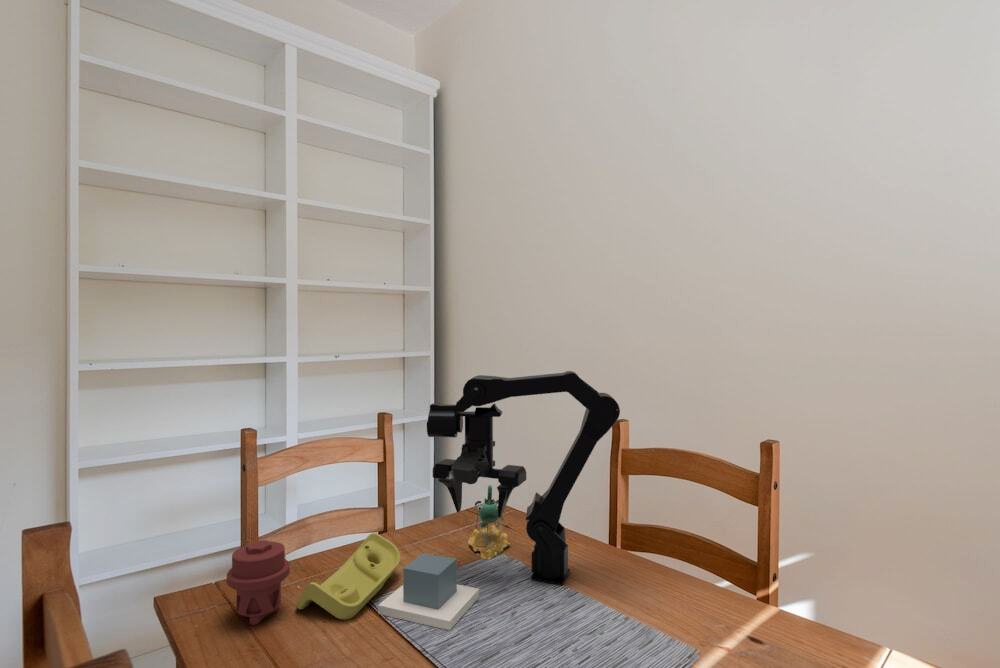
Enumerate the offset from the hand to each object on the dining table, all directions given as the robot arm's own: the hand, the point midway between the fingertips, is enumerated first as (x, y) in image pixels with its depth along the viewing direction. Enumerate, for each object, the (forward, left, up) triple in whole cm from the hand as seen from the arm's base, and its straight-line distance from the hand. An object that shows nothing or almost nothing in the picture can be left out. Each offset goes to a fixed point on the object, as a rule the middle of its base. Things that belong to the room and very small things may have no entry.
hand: (479, 514), depth 109 cm
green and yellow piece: (+4, -15, -12) cm, 20 cm away
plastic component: (+18, +16, -12) cm, 27 cm away
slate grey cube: (+3, +15, -10) cm, 18 cm away
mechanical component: (+29, +29, -12) cm, 43 cm away
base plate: (+3, +15, -12) cm, 19 cm away
